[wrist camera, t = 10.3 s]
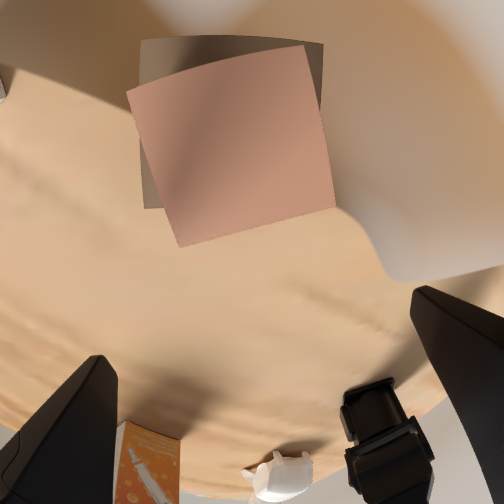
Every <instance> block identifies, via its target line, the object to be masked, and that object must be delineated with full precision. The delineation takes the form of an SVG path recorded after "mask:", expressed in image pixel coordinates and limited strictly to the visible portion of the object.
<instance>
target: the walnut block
mask: <svg viewBox="0 0 504 504" xmlns="http://www.w3.org/2000/svg"><path fill="white" fill-rule="evenodd" d="M300 45H304V49H305V52H306V56H307V60H308V64H309V68H310V72H311V76H312V80H313V84H314V88H315V93H316V97H317V102H318V106H319V111H320V102H321V87H322V68H323V44H319V43H312V42H305V41H298V40H290V39H281V38H270V37H257V36H235V35H205V36H204V35H201V36H180V37H167V38H156V39H147V40H141V48H140V72H139V86H141V85H144V84H147V83H149V82H152V81H155V80H157V79H160V78H163V77H166V76H169V75H172V74H175V73H178V72H181V71H184V70H188V69H191V68H194V67H198V66H201V65H205V64H209V63H212V62H216V61H220V60H224V59H228V58H232V57H237V56H241V55H246V54H251V53H256V52H261V51H267V50H272V49H279V48H285V47H292V46H300ZM140 158H141V175H142V189H143V201H144V209H150V208H164V206H163V204H162V201H161V198H160V195H159V192H158V190H157V187H156V184H155V181H154V178H153V175H152V172H151V170H150V167H149V164H148V161H147V158H146V155H145V152H144V149H143V146H142V142H141V139H140Z"/></svg>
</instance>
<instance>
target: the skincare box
mask: <svg viewBox="0 0 504 504" xmlns="http://www.w3.org/2000/svg"><path fill="white" fill-rule="evenodd" d="M5 98H6V94H5V91H4V88H3V85H2V81H1V78H0V103H1V102H2V101H3V100H4V99H5Z"/></svg>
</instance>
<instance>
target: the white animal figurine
mask: <svg viewBox="0 0 504 504" xmlns="http://www.w3.org/2000/svg"><path fill="white" fill-rule="evenodd" d="M273 456H274V459H273V460H271V461H270V462H267V463H262V464H260V465H259V466H258V468H257V471H256V472H255V471H252V470H247V469H243V470H242V472H241V474H242V476H244V477H245V478H246V479H247V480H248V481H250V482H251V483H252V484H253V488H254V492H253V493H252V495H251V496H250V498H249V501H248V504H281V501H285V500H287V499H290V498H292V497H294V496H296V495H298V494H300V493H301V492H303V491H305V490H307V489H308V488H309V487H310V486H311V483H312V477H313V466H312V464H313V463H314V462H313V461H312V460H311V459H310V455H309V454H308V453H307V451H302V457H297V458H292V457H282V455H281V454H280V453H279V451H273Z"/></svg>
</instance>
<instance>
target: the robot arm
mask: <svg viewBox="0 0 504 504" xmlns="http://www.w3.org/2000/svg"><path fill="white" fill-rule="evenodd" d="M410 317H411V320H412V322H413V324H414V326H415V328H416V331H417V333H418V335H419V337H420V340H421V342H422V344H423V347H424V349H425V351H426V354H427V356H428V358H429V360H430V362H431V364H432V366H433V368H434V370H435V372H436V373H437V375H438V377H439V379H440V381H441V383H442V385H443V387H444V389H445V390H446V392H447V394H448V396H449V398H450V400H451V402H452V404H453V406H454V408H455V410H456V412H457V415H458V416H459V419H460V421H461V423H462V425H463V427H464V429H465V431H466V434H467V436H468V438H469V441H470V443H471V445H472V447H473V450H474V452H475V455H476V457H477V459H478V462H479V464H480V467H481V470H482V472H483V475H484V478H485V480H486V483H487V485H488V488H489V491H490V494H491V497H492V500H493V503H494V504H504V318H503V317H501V316H498V315H496V314H494V313H491V312H489V311H487V310H484V309H482V308H480V307H477V306H475V305H473V304H470V303H468V302H466V301H463V300H461V299H459V298H456V297H454V296H452V295H449V294H447V293H444V292H442V291H439V290H437V289H435V288H432V287H430V286H427V285H425V286H421V287H418V288H416V289H414V291H413V294H412V300H411V307H410ZM394 382H395V380H394V378H389V379H386V380H383V381H381V382H378V383H375V384H372V385H369V386H366V387H363V388H360V389H357V390H354V391H351V392H348V393H345V394H344V395H343V405H342V406H341V408H340V419H341V422H342V425H343V428H344V431H345V434H346V436H347V439H348V441H349V442H352V441H353V442H354V445H355V446H354V447H352V448H348V449H345V452H346V454H345V455H344V456H345V460H346V463H347V467H348V480H349V485H350V486H351V487H354V488H355V490H356V491H357V493H358V494H359V495H361V494H362V495H363V498H364V501H365V502H366V503H367V504H429V499H430V495H431V491H432V487H433V483H434V474H433V469H432V467H431V464H430V462H431V461H432V460H434V459H435V457H434V455H433V452H432V450H431V447H430V445H429V443H428V441H427V439H426V437H425V435H424V433H423V431H422V429H421V427H420V425H419V423H418V422H417V420H416V418H415V416H414V415H413V416H411V417H410V418H409V419H408V418H407V416H406V414H405V412H404V410H403V408H402V406H401V404H400V402H399V400H398V398H397V396H396V394H395V392H394V390H393V386H394ZM117 403H118V377H117V374H116V372H115V370H114V369H113V367H112V366H111V365H110V363H109V362H108V360H107V359H106V357H105V356H103V355H93V356H90V357H89V358H88V359H87V360H86V361H85V362H84V363H83V364H82V365H81V366H80V367H79V368H78V369H77V370H76V371H75V372H74V373H73V374H72V375H71V376H70V377H69V378H68V379H67V380H66V381H65V382H64V383H63V384H62V385H61V386H60V387H59V388H58V389H57V390H56V391H55V393H54V394H53V395H52V396H51V397H50V398H49V399H48V400H47V401H46V402H45V403H44V404H43V405H42V406H41V407H40V408H39V409H38V410H37V411H36V413H35V414H34V415H33V416H32V417H31V418H30V419H29V420H28V421H27V422H26V423H25V424H24V425H23V426H22V428H21V429H20V430H19V431H18V432H17V433H16V434H15V435H14V437H12V438H11V440H10V441H9V442H8V443H7V444H6V445H5V446H4V447H3V448H2V449H1V450H0V504H113V481H114V460H115V446H116V434H117Z"/></svg>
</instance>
